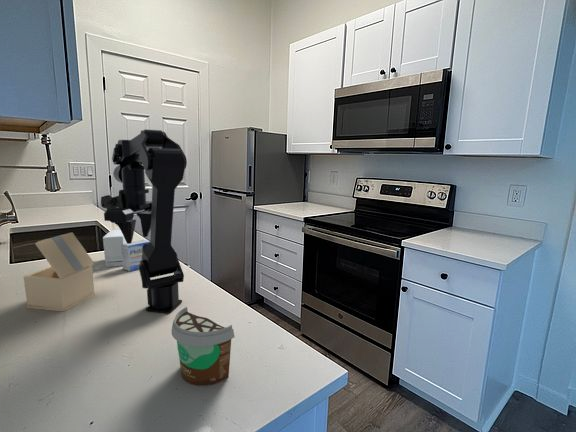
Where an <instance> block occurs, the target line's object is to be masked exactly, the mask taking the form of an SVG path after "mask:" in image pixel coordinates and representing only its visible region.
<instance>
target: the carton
mask: <svg viewBox="0 0 576 432" xmlns="http://www.w3.org/2000/svg"><path fill="white" fill-rule="evenodd" d="M93 273H94V272H93V265H91V266H89V267H87V268H84V269H82V270H80V271H77V272H75V273H73V274H70V275H68V276H66V277H63V278H61V279H60V278H59V276H58V275H57V273H56V272H55V271H54V269H53V268H52V266H51V265H50V266H48V267H45V268H42V269H41V270H37V271H35V272H32V273H29V274H27V275H24V276H23V282H24V290H25V298H26V306H27V308H28V309H34V310H35V309H36V310H47V311H54V312H55V311H56V312H65V311H67V310H69V309H71V308H73V307H74V306H76V305H78V304H79V303H81V302H83V301H85V300H87V299H89V298H91V297H93V296H94V295H95V284H94V274H93Z"/></svg>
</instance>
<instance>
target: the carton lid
mask: <svg viewBox="0 0 576 432" xmlns="http://www.w3.org/2000/svg"><path fill="white" fill-rule="evenodd" d="M34 244H35V246H36V247H37V249H38V250H39V251H40V253H41V254H42V256H43V257H44V258H45V259H46V261H47V262H48V264H49V265H50V267H51V266H52V268H53V269H54V271H55V272H56V273H57V275H58V276H59V278H60V279H61V278H63V277H66V276H68V275H70V274H73V273H75V272H77V271H80V270H82V269H84V268H87V267H89V266H93V265H94V264H95V262H94V261H93V259H92V257H90V255H89V253H88V252H87V251H86V249H85V248H84V246H83V245H82V243H81V242H80V241H79V239H78V238H77V237H76V235H75V234H74V232H73V231H72V232H68V233H64V234H60V235H56V236H52V237H50V238H45V239H42V240H38V241H36V242H35V243H34Z"/></svg>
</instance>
